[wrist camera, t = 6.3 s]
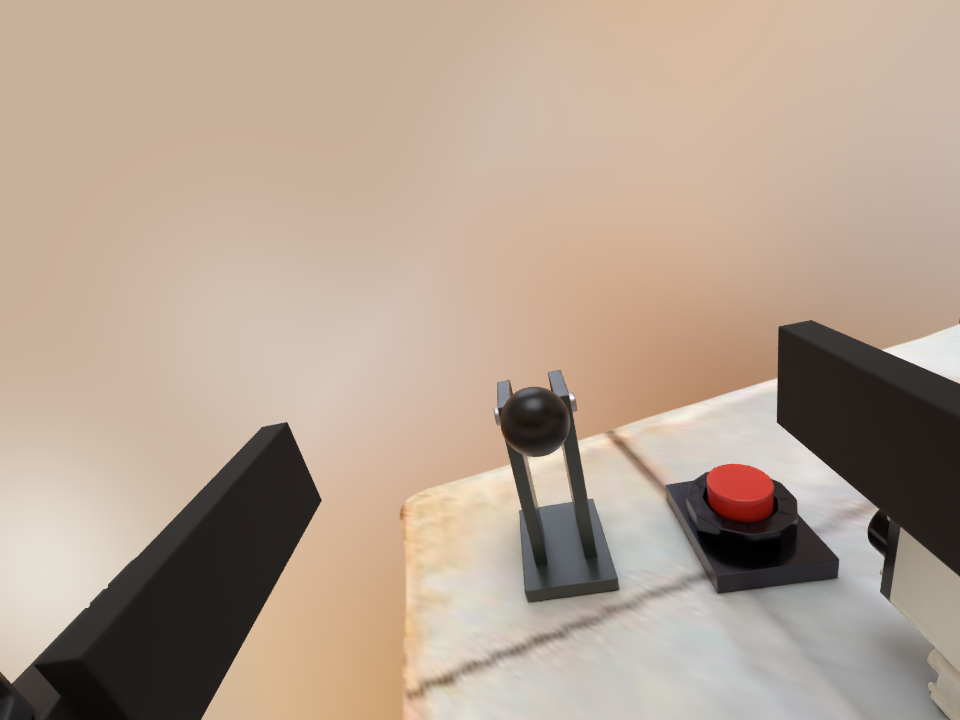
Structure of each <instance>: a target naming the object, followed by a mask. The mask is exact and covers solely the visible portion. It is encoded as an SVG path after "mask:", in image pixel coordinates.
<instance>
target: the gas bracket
mask: <svg viewBox="0 0 960 720" xmlns="http://www.w3.org/2000/svg"><path fill="white" fill-rule="evenodd" d="M548 376H549V381H550V387H551V391H552V392H554V393H555V394H557V395H558V396H559V397H560V398H561V399H562V400H563V402H564V403H565V405H566V407H567V409H568V412H569V416H570V429H569V433H568V436H567V438H566V440H565V441H564V443H563V444H562V450H563V455H564V460H565V466H566V471H567V476H568V481H569V487H570V492H571V497H572V502H569V503H563V504H557V505H550V506H544V507H538V503H537V499H536V495H535V490H534V486H533V481H532V477H531V472H530V468H529V463H528V459H527V455H523V454H521V453H519V452H517V451H516V450H515V449H513V448H512V447H511V446H510V445H509V444H508V443H507V441H506V440H505V441H506V445H507V449H508V454H509V458H510V462H511V466H512V470H513V475H514V479H515V483H516V487H517V491H518V495H519V499H520V503H521V507H522V510H520V511H519V514H520V528H521V542H522V556H523V569H524V583H525V593H526V597H527V600H528V602H533V601H540V600H548V599H555V598H562V597H570V596H577V595H584V594H592V593H599V592H606V591H614V590H619V585H618V578H617V575H616V572H615V569H614V565H613V562H612V559H611V556H610V552H609V549H608V546H607V543H606V540H605V536H604V533H603V530H602V527H601V523H600V520H599V517H598V514H597V510H596V507H595V504H594V501H593V499H587V493H586V488H585V482H584V476H583V470H582V465H581V459H580V453H579V448H578V442H577V436H576V430H575V425H574V419H573V413H572V412H575V411H577V405H576V400H575V396H574V393H568V390H567V387H566V384H565V382H564V378H563V376H562V373H561V370H557V371H552V372H548ZM512 395H513V393H512V388H511V384H510V381H509V380H507V381H502V382H498V383H497V396H498V397H497V400H498V407H494V415H495V420H496V424H497V425H498V426H499V425H501V424H500V418H501V412H502V409H503V407H504V405H505V403H506V401H507V400H508V399H509V398H510V397H511V396H512Z"/></svg>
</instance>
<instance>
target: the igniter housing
mask: <svg viewBox="0 0 960 720" xmlns="http://www.w3.org/2000/svg"><path fill="white" fill-rule="evenodd" d="M708 474H709V472H706V473H704V474H703V475H701V476H700V477H698V478H697V479H695V480H694V481H688V482H682V483H676V484H670V485H666V494H667V501H668V502H669V504H670V506H671V508H672V510H673V512H674V513H675V515H676V517H677V519H678V521H679V523H680V525H681V526H682V528H683V530H684V532H685V534H686V536H687V537H688V539H689V541H690V543H691V545H692V547H693V548H694V550H695V552H696V554H697V556H698V558H699V560H700V561H701V563H702V565H703V567H704V569H705V571H706V572H707V574H708V576H709V578H710V580H711V582H712V583H713V585H714V587H715V589H716V591H717V593H724V592H731V591H739V590H747V589H754V588H762V587H769V586H777V585H784V584H792V583H799V582H807V581H814V580H822V579H829V578H837V577H838V567H839V559H838V557H837V556H836V555H835V554H834V553H833V552H832V551H831V550H830V549H829V548H828V547H827V545H826V544H825V543H824V542H823V541H822V540H821V539H820V538H819V537H818V536H817V535H816V533H815V532H814V531H813V530H812V529H811V528H810V527H809V526H808V525H807V524H806V523H805V521H804V520H803V519H802V518H801V517H800V516H799V515H798V513H797V500H796V498H795V497H794V496H793V495H792V494H791V493H790V492H789V491H788V490H787V489H786V488H785V487H784V486H783V485H782V484H781V483H780V482H777V481H775V480H773V479H771V478H770V479H771V480H772V482H773V485H774V505H773V511H772V513H771V515H770V516H769V517H767V518H766V519H764V520H761V521H756V522H749V523H746V522H741V521H736V520H731V519H727V518H724V517H722V516H721V515H719V514H718V513H716V512H715V511H714V510H713V509H712V508H711V506H710V505H709V502H708V495H707V476H708Z"/></svg>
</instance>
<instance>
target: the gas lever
mask: <svg viewBox="0 0 960 720" xmlns="http://www.w3.org/2000/svg"><path fill="white" fill-rule="evenodd" d="M500 424H501V430H502V433H503V436H504V438H505V440H506V441H507V443H508V444H509V445H510V446H511V447H512V448H513V449H515V450H516V451H517V452H519V453H521V454H523V455H527V456H532V457H540V456H545V455H548V454H550V453H552V452H554V451H556V450H557V449H558V448H559V447H560V446H561V445H562V444H563V443H564V441H565V440H566V438H567V436H568V433H569V429H570V416H569V412H568V409H567V407H566V405H565V403H564V402H563V400H562V399H561V398H560V397H559V396H558V395H557V394H555V393H554V392H552V391H550V390H548V389H545V388H542V387H528V388H524V389H521V390H519V391H517V392H516V393H514V394H513V395H512V396H511V397H510V398H509V399H508V400H507V401H506V403H505V405H504V407H503V409H502V412H501V418H500Z"/></svg>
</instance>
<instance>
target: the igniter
mask: <svg viewBox="0 0 960 720" xmlns="http://www.w3.org/2000/svg"><path fill="white" fill-rule="evenodd" d="M707 495H708V502H709V505H710V506H711V508H712V509H713V510H714V511H715V512H716V513H718V514H719V515H721V516H722V517H724V518H727V519H731V520H736V521H741V522H746V523H749V522H756V521H761V520H764V519H766V518H767V517H769V516H770V515H771V513H772V511H773V505H774V485H773V482H772V480H771V479H770V477H769V476H768V475H767V474H765V473H764V472H762V471H761V470H758V469H756V468H754V467H751V466H747V465H741V464H727V465H722V466H718V467H716V468H714V469H713V470H711V471H710V472H709V474H708V476H707Z"/></svg>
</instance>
